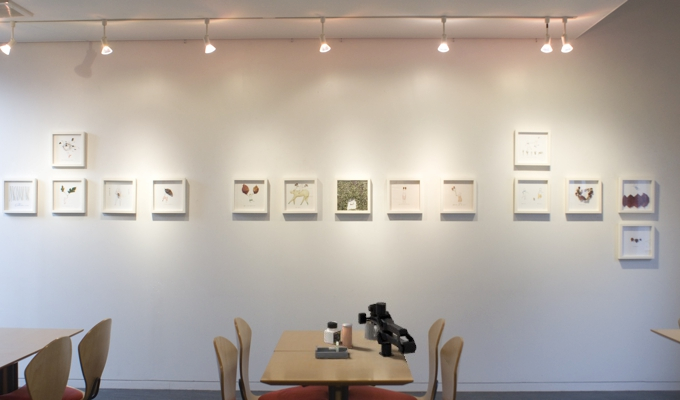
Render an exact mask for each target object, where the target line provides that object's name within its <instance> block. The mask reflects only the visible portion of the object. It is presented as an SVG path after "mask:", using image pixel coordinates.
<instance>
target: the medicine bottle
mask: <svg viewBox="0 0 680 400" xmlns="http://www.w3.org/2000/svg"><path fill="white" fill-rule="evenodd" d="M326 326H327V329H325V330H324V332H323V333H324V335H323V336H324V338H323V340H324V341H323V342H324V344H325V343H327V344H330V345H336V342H338V343H341V342H342V341H341V339H342V337H341V335H342V334H341V331H342V330H341V329H338V327H339V326H338V322H337V321H333V320H332V321H328V322H327V324H326Z"/></svg>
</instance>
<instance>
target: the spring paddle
mask: <svg viewBox="0 0 680 400" xmlns="http://www.w3.org/2000/svg"><path fill="white" fill-rule="evenodd" d="M328 347H329V346H328ZM339 347H340V346H339V342H336V344H335V346H330V347H329V350H336V352H339Z"/></svg>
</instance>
